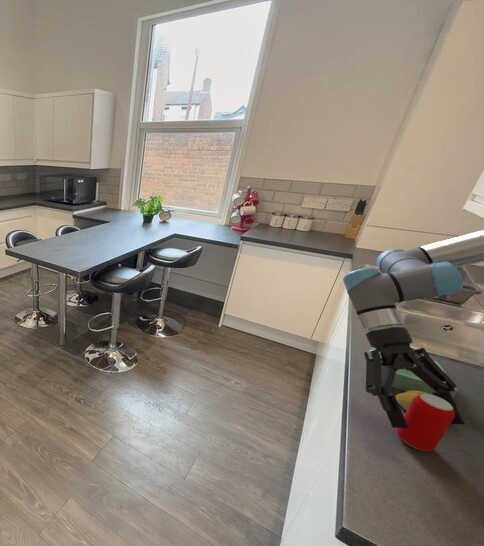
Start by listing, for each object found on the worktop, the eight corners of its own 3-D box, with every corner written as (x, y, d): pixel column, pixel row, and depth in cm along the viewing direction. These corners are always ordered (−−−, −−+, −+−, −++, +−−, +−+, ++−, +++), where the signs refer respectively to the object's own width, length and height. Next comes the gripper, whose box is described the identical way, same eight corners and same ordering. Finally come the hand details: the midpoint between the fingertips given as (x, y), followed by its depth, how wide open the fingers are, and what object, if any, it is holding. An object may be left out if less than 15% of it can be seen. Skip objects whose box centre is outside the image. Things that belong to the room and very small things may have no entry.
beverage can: (440, 452, 68) (467, 410, 64) (417, 455, 67) (442, 413, 63) (408, 429, 74) (431, 389, 69) (387, 432, 73) (408, 392, 68)
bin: (431, 374, 93) (437, 361, 91) (449, 404, 81) (457, 390, 80) (366, 356, 100) (372, 344, 98) (375, 382, 89) (381, 369, 87)
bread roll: (387, 401, 82) (393, 389, 81) (409, 394, 85) (415, 382, 83) (428, 425, 75) (435, 413, 73) (451, 417, 77) (458, 405, 76)
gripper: (413, 331, 80) (457, 421, 72) (325, 334, 78) (360, 428, 70) (447, 324, 74) (500, 422, 65) (352, 327, 71) (394, 430, 63)
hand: (428, 426), depth 67 cm, fingers open, 13 cm apart
